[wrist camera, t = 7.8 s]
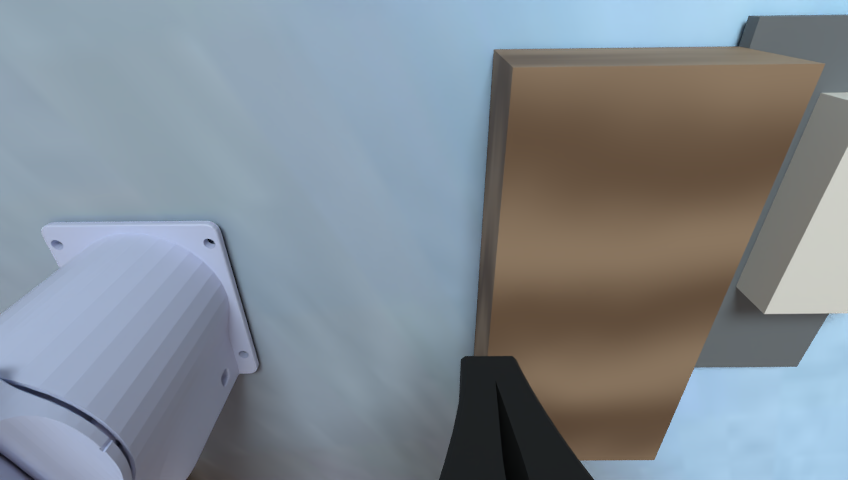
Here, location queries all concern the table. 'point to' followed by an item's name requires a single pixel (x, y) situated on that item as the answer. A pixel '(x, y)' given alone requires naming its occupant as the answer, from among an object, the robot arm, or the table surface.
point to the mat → (738, 317)
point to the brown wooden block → (623, 221)
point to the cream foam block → (807, 224)
